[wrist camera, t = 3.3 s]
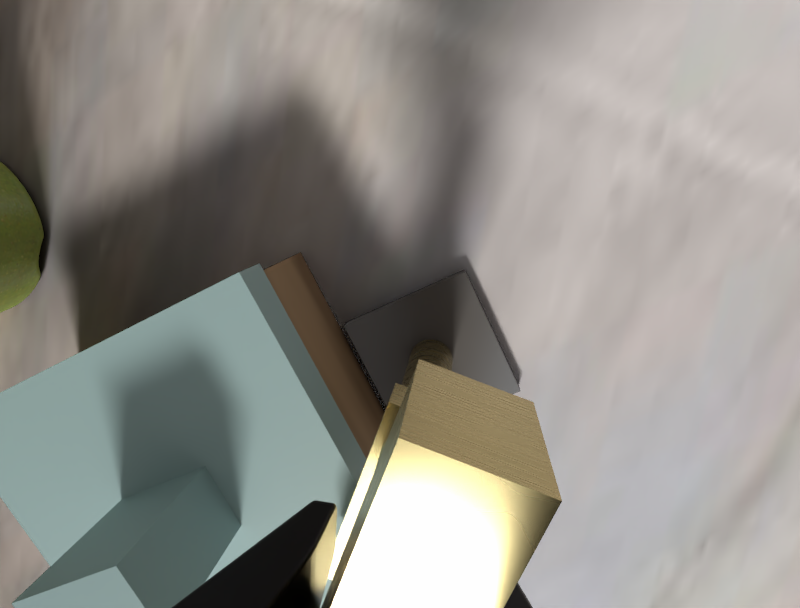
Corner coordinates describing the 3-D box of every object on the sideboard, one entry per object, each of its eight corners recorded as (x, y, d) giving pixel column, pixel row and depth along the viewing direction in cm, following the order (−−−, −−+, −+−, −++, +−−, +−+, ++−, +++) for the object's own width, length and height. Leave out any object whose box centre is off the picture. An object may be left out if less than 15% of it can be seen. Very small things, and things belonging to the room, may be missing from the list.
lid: (160, 653, 17) (49, 826, 12) (-16, 401, 15) (-220, 498, 11) (428, 573, 15) (412, 751, 10) (259, 263, 13) (146, 312, 8)
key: (415, 466, 17) (334, 935, 7) (368, 448, 17) (212, 882, 7) (498, 271, 15) (571, 504, 4) (443, 251, 15) (388, 433, 4)
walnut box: (212, 568, 20) (161, 647, 17) (79, 362, 18) (-8, 404, 15) (550, 454, 17) (571, 524, 14) (427, 188, 15) (416, 193, 12)
